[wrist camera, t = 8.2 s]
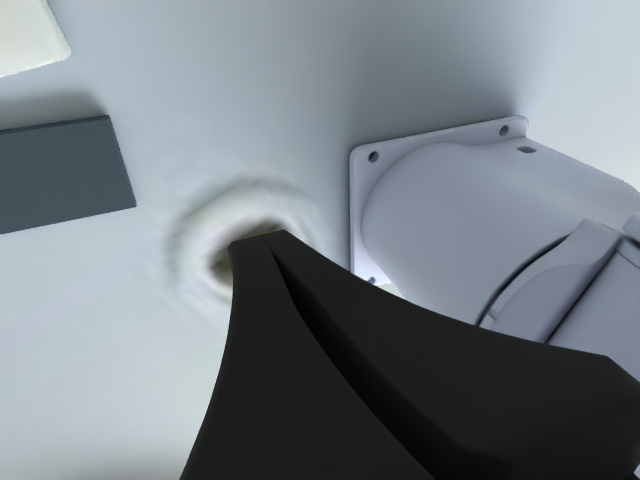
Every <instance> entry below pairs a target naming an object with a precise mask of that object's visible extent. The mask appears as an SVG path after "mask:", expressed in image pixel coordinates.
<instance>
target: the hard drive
mask: <svg viewBox="0 0 640 480" xmlns="http://www.w3.org/2000/svg"><path fill="white" fill-rule="evenodd" d="M70 54H71V48H70V46H69V44H68V42H67V40H66V38H65V36H64V34H63V32H62V30H61V28H60V26H59V24H58V22H57V20H56V18H55V16H54V14H53V12H52V10H51V8H50V6H49V4H48V2H47V0H0V77H4V76H8V75H12V74H15V73H20V72H23V71H26V70H29V69H34V68H37V67H40V66H43V65H46V64H50V63H55V62H57V61H62V60H65V59H67V58H68V57H69V55H70Z"/></svg>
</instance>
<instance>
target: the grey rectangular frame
mask: <svg viewBox="0 0 640 480" xmlns="http://www.w3.org/2000/svg"><path fill="white" fill-rule="evenodd" d="M136 206H137V205H136V200H135V196H134V193H133V190H132V187H131V184H130V180H129V177H128V174H127V171H126V168H125V164H124V161H123V158H122V155H121V152H120V148H119V145H118V142H117V139H116V136H115V133H114V129H113V126H112V123H111V120H110V117H109V115H104V116H97V117H90V118H83V119H76V120H69V121H63V122H56V123H49V124H42V125H35V126H28V127H21V128H15V129H8V130H1V131H0V235H1V234H5V233H10V232H15V231H20V230H25V229H30V228H35V227H40V226H45V225H50V224H55V223H60V222H65V221H70V220H75V219H79V218H84V217H89V216H94V215H99V214H104V213H109V212H114V211H119V210H124V209H129V208H134V207H136Z"/></svg>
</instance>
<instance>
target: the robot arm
mask: <svg viewBox="0 0 640 480" xmlns="http://www.w3.org/2000/svg"><path fill="white" fill-rule="evenodd" d="M502 127H503V129H502V131H501V132H500V129H501V128H502ZM527 129H528V119H527V118H526V117H523V116H520V115H517V116H512V117H507V118H502V119H496V120H491V121H486V122H481V123H476V124H470V125H465V126H460V127H455V128H449V129H444V130H439V131H434V132H429V133H423V134H418V135H413V136H408V137H403V138H397V139H392V140H387V141H382V142H377V143H371V144H366V145H361V146H358V147H356V148H355V149H354V150H353V151H352V152H351V154H350V251H351V272H349V271H347V270H346V269H344V268H342V267H341V266H339V265H337V264H336V263H334V262H333V261H331V260H329V259H328V258H326V257H325V256H323V255H322V254H320V253H319V252H317V251H316V250H314V249H313V248H311V247H310V246H308V245H307V244H305V243H304V242H302V241H301V240H299V239H298V238H296V237H295V236H293V235H292V234H290V233H289V232H287V231H286V230H280V231H276V232H271V233H267V234H263V235H258V236H254V237H250V238H246V239H241V240H237V241H233V242H231V244H230V245H229V246H228V251H229V257H230V263H231V268H232V274H233V298H232V308H231V315H230V322H229V329H228V335H227V340H226V345H225V349H224V354H223V358H222V362H221V366H220V370H219V373H218V377H217V380H216V383H215V387H214V390H213V393H212V397H211V400H210V403H209V406H208V409H207V412H206V415H205V417H204V420H203V423H202V425H201V428H200V430H199V433H198V435H197V438H196V440H195V443H194V445H193V448H192V450H191V453H190V455H189V458H188V461H187V463H186V465H185V468H184V470H183V472H182V475H181V477H180V479H179V480H640V193H639V192H638V191H637V190H636V189H635V188H633V187H632V186H631V185H629V184H628V183H626V182H624V181H623V180H620V179H618V178H616V177H614V176H612V175H609V174H607V173H605V172H603V171H600V170H598V169H596V168H594V167H591V166H589V165H587V164H585V163H582V162H580V161H578V160H576V159H573V158H571V157H569V156H567V155H564V154H562V153H560V152H558V151H555V150H553V149H551V148H549V147H546V146H544V145H542V144H540V143H537V142H535V141H533V140H531V139H528V138H526V134H527ZM374 151H375V155H374V157H373V158H372V159H370V160H368V157H369V155H370V153H371V152H374ZM371 277H372V278H371ZM369 278H371V279H370V280H368V279H369ZM367 280H368V281H367ZM389 282H392V283H393V285H394V286H395V287H396V288H397V289H398V291H399V292H400V293H401V294H402V295H403V297H404V298H405V299H406V300H405V299H402V298H400V297H398V296H395V295H393V294H391V293H389V292H387V291H385V290H383V289H381V288H379V287H377V286H379V285H383V284H386V283H389Z"/></svg>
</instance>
